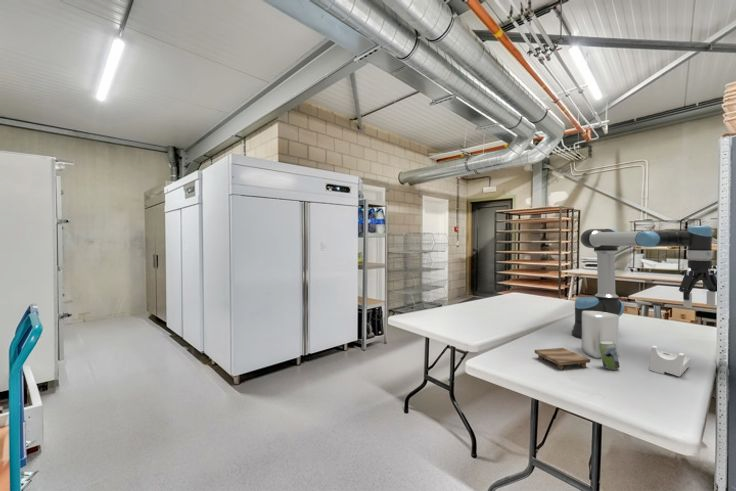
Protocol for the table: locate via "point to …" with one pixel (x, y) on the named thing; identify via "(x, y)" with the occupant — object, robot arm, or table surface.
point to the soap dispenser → (599, 331)
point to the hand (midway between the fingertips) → (699, 306)
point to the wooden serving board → (562, 357)
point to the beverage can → (609, 355)
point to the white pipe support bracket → (668, 362)
